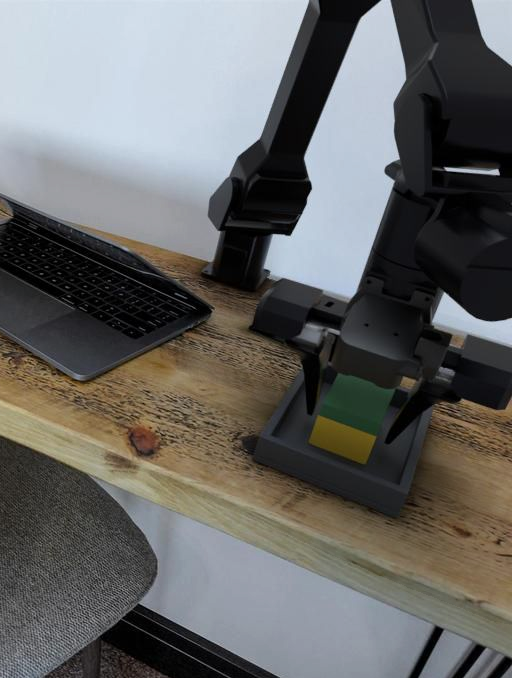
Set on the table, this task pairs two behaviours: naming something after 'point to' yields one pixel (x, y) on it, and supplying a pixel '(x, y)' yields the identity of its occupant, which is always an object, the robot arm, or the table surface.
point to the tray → (337, 471)
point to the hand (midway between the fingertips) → (348, 427)
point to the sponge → (351, 417)
